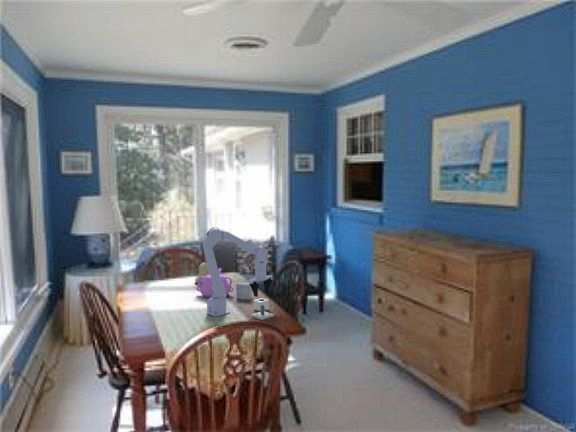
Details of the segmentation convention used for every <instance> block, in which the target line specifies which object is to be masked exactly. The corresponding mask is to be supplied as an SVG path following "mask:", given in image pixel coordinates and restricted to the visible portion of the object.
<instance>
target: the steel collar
mask: <svg viewBox="0 0 576 432" xmlns="http://www.w3.org/2000/svg"><path fill="white" fill-rule="evenodd" d="M261 305H264V311H265V312H266V311H268V310H270V300H269V299H267V298H263V297H261V298H258V299H257V298H256V299H254V300H253V310H254V311H257V312H261Z"/></svg>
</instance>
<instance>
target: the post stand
mask: <svg viewBox="0 0 576 432" xmlns="http://www.w3.org/2000/svg"><path fill="white" fill-rule="evenodd" d="M250 316H251V317H252V318H255V319H257V320H259V321H260V320H261V321H264V320H266V319H270V318H273V317H275V313H271V312H268V311H266V310H265V311H264V305H261V312H260V311H257V312H254V313H252V314H251V315H250Z"/></svg>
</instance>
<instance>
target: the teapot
mask: <svg viewBox="0 0 576 432" xmlns="http://www.w3.org/2000/svg"><path fill="white" fill-rule="evenodd" d="M218 271H219V274H220V278H221V281H222V283H223V284H224V287H225V289H226V293H225V294H226V296H227V295H228V294H229V293H231V292H233V291H234V287H232V284H233V279H232V277H231V276H224V275H223V274H222V268H221V267H220V268H218ZM201 278H204V280H203V282H202V283H200V279H201ZM227 279H228V280H229V282H228V280H227ZM197 283H198V284H197V285H198V286H197V287H196V291H198V292H200V294H201V295H202V296H203V297H205V298H208V299H209V298H211V297H212V295H213V290H212V284H213V283H212V279H211V275H207V276H206V277H204V276H201V277H199V278H198V282H197Z"/></svg>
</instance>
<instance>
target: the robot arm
mask: <svg viewBox="0 0 576 432" xmlns="http://www.w3.org/2000/svg"><path fill="white" fill-rule="evenodd" d="M221 240H222V241H226V240H228V241H230V242H232V243H234V244H237V245H239V246H240V247H241V250H243V251H245V252H246V253H247V252H248V254H251V255H255V256H254V258H255V259H254V262H255V263H254V265H255V266H254V267H255V269H254V271H255V272H254V273H255V277H253V278H250V279H249V280H248V283H249V285H250V286H251V288H252V295H253V296H254V297H257V298H258V294H259V293H258V292H259V287H260V284H259V282H263V287H264V293H265V294H267V295H269V293H270V288H271V286H272V284H273V282H274V281H273V274H268V275H267V255H268V252H267V249H266V248H265V247H264V246H262V245H261V244H260V243H258V244H257V243H256V242H254V241H252V239H247V238H245V239H242V238H240V237H238V236H236V235H235V234H232V233H231V232H229V231H227V230H225V229H222V228H219V227H217V226H212V227H210V229H209V230H207V232H206V234H205V238H204V241H203V243H202V249H203V254H204V253H205V256H206V260H207V264H208V268H209V271H210V275H211V279H212V283H213V284H212V290H213V295H212V297H211V298H209V297H208V299H207V301H206V306H207V307H206V311H207V312H206V314H207V315H208V316H212V317H214V318H217V317H219V316H223V315H228V314H230V313H231V311H229V310H227V295H226V294H225V293H226V289H225V287H224V284H223V283H222V281H221V278H220V274H219V271H218V270H219V268H218V264H217V260H216V257H215V253H214V247H215V245H216V244H217V243H218V242H220V241H221Z"/></svg>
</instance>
